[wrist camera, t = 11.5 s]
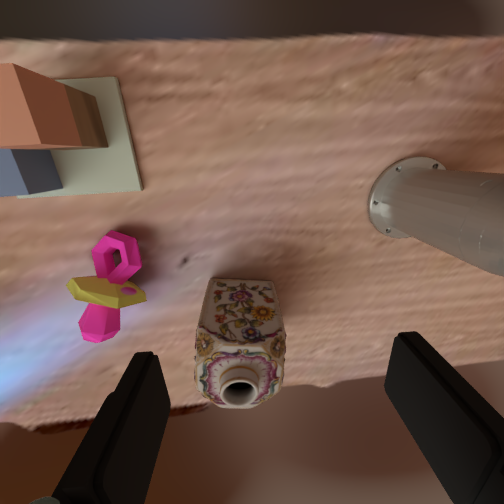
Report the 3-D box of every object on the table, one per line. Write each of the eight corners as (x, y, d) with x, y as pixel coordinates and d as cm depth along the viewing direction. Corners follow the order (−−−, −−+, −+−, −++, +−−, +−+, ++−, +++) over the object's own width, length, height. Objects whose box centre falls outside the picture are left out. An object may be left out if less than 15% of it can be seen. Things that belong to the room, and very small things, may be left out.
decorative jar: (209, 275, 42) (187, 355, 25) (274, 278, 42) (295, 358, 26) (208, 329, 46) (190, 428, 29) (267, 331, 47) (282, 428, 30)
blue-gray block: (47, 143, 32) (7, 140, 27) (63, 188, 34) (29, 194, 29) (2, 146, 32) (-48, 143, 26) (21, 191, 34) (-21, 198, 29)
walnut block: (95, 96, 30) (62, 83, 25) (108, 147, 33) (81, 146, 27) (48, 99, 30) (4, 86, 25) (65, 150, 32) (28, 149, 27)
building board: (117, 78, 30) (114, 76, 30) (143, 189, 36) (141, 190, 35) (-25, 86, 30) (-32, 84, 29) (22, 197, 35) (17, 198, 35)
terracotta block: (63, 83, 25) (12, 63, 19) (82, 146, 27) (41, 144, 22) (5, 86, 25) (-63, 66, 19) (29, 149, 27) (-26, 147, 21)
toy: (170, 244, 40) (121, 240, 30) (143, 343, 41) (88, 371, 31) (124, 229, 43) (65, 221, 33) (100, 322, 44) (36, 342, 34)
